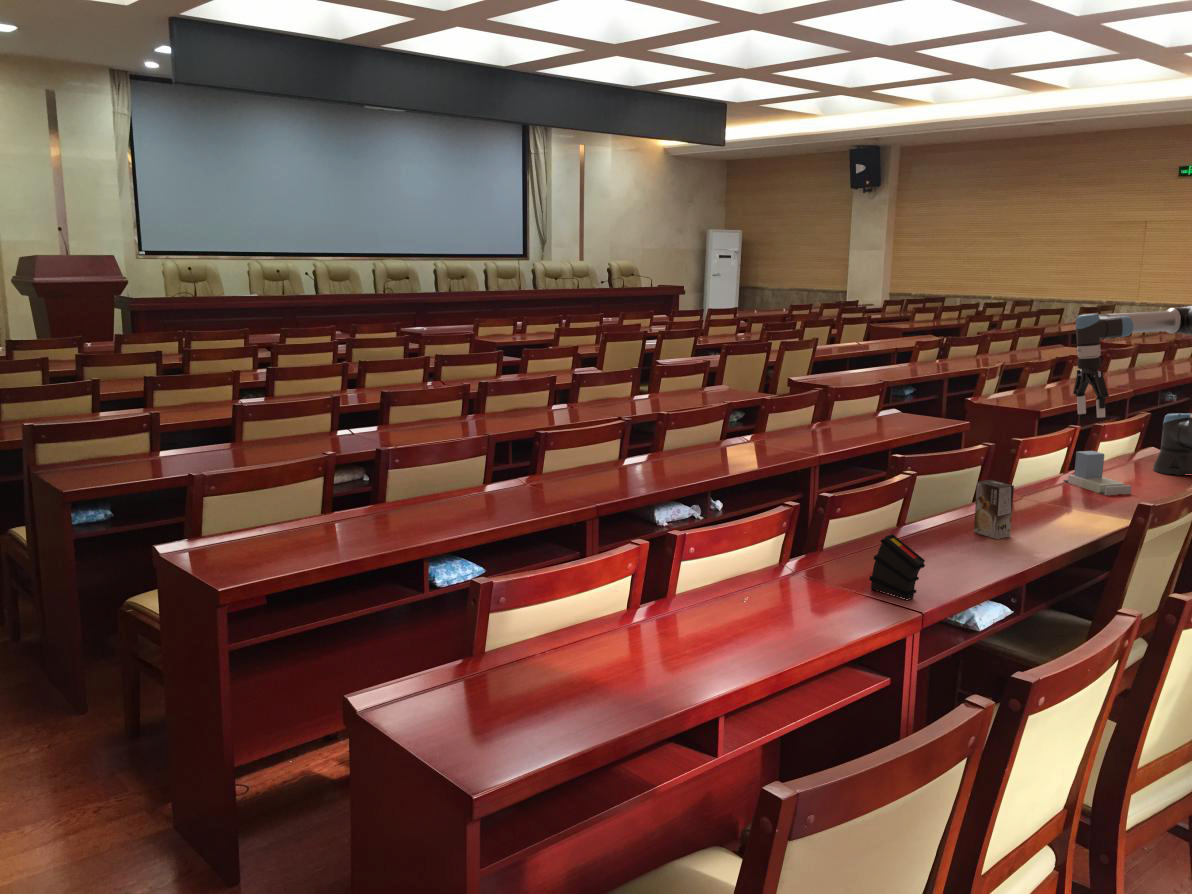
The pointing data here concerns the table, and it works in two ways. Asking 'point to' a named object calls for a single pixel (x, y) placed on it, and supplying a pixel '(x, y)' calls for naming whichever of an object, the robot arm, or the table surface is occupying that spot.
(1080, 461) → the block
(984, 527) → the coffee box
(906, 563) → the magazine
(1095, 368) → the robot arm
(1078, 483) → the trap deck
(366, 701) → the table surface
